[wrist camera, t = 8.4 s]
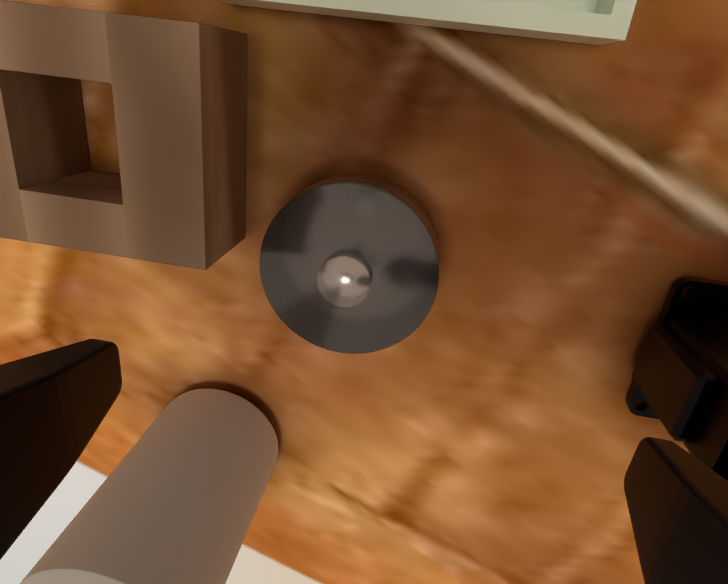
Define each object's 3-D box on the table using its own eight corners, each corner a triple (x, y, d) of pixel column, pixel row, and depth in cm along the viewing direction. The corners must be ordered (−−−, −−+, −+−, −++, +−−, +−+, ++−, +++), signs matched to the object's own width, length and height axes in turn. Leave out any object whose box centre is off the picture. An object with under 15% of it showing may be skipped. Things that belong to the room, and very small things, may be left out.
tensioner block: (246, 33, 18) (198, 23, 15) (245, 237, 22) (205, 270, 18) (0, 5, 19) (-104, -12, 16) (34, 205, 22) (-44, 230, 19)
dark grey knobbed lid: (452, 185, 19) (454, 204, 17) (424, 338, 22) (421, 377, 19) (280, 161, 20) (254, 175, 17) (275, 313, 23) (251, 347, 20)
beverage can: (148, 391, 26) (-63, 619, 15) (256, 369, 24) (107, 604, 13) (198, 483, 28) (46, 739, 17) (300, 467, 27) (203, 738, 16)
